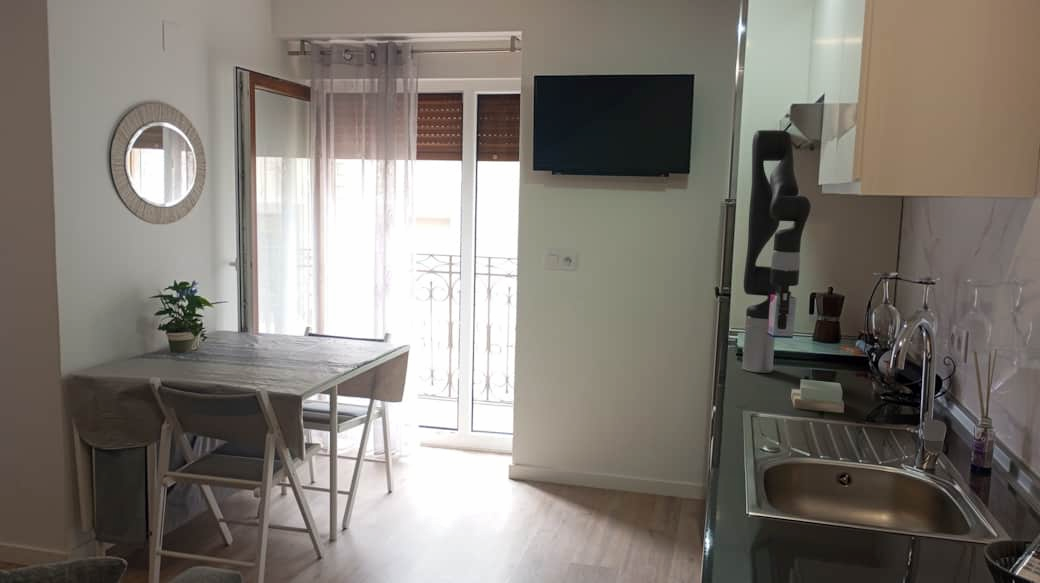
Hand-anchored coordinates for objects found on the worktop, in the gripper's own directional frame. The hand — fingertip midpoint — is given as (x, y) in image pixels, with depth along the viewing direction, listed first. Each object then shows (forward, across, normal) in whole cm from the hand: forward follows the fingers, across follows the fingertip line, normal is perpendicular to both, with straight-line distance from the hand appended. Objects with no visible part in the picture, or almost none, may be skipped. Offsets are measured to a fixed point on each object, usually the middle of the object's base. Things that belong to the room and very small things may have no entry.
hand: (780, 326), depth 219 cm
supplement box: (+3, 0, 0) cm, 3 cm away
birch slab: (+19, +11, +10) cm, 24 cm away
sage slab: (+16, +12, +10) cm, 22 cm away
